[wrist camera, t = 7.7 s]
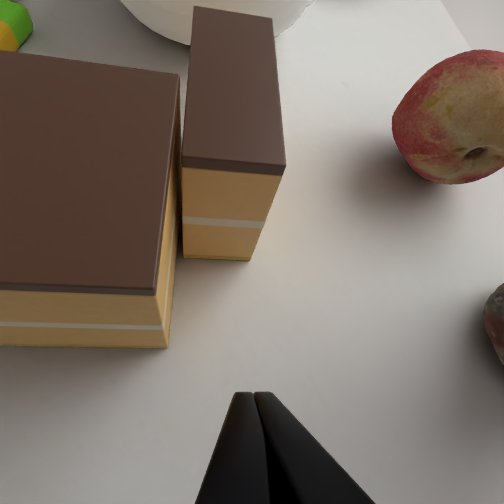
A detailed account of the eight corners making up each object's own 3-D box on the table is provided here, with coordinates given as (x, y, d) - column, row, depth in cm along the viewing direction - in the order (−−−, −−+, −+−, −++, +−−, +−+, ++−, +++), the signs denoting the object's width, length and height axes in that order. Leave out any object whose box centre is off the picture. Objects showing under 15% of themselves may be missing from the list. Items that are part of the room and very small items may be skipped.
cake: (168, 348, 17) (155, 290, 10) (-19, 346, 15) (-193, 275, 8) (182, 194, 21) (180, 73, 14) (36, 182, 19) (-50, 41, 12)
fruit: (359, 175, 24) (432, 69, 17) (386, 111, 27) (455, 1, 20) (464, 226, 23) (585, 139, 16) (477, 153, 27) (581, 56, 20)
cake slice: (250, 261, 19) (287, 166, 12) (182, 258, 19) (180, 156, 12) (245, 104, 25) (269, -23, 18) (193, 98, 24) (196, -36, 17)
